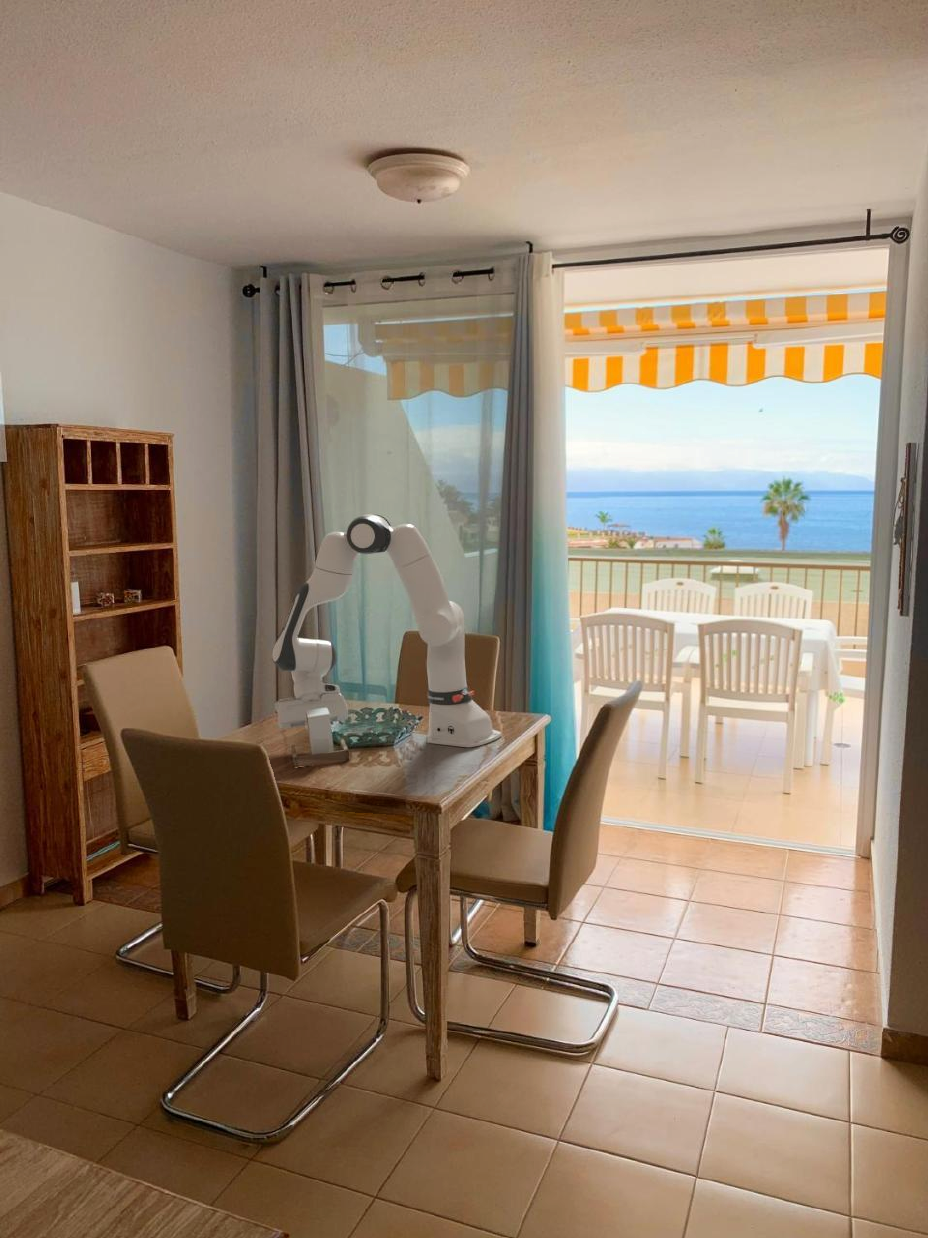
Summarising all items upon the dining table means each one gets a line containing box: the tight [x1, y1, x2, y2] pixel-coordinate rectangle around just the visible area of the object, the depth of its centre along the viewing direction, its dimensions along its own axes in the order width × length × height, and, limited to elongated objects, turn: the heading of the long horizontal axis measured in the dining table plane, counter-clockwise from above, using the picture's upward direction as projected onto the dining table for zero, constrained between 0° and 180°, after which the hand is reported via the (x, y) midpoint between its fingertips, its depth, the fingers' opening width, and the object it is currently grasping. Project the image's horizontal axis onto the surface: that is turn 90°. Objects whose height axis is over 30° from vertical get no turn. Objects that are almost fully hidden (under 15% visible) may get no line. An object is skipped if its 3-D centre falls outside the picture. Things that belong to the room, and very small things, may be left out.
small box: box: [306, 708, 335, 755], centre depth 270 cm, size 8×6×13 cm
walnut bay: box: [290, 737, 350, 768], centre depth 270 cm, size 12×15×3 cm
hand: (316, 736), depth 275 cm, fingers closed, pressing on small box
